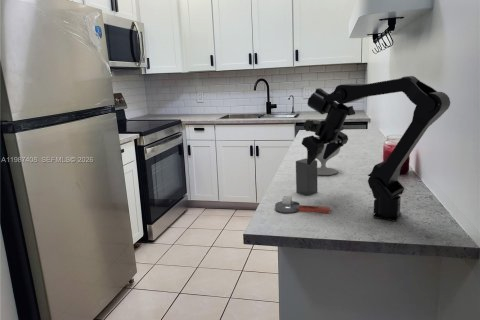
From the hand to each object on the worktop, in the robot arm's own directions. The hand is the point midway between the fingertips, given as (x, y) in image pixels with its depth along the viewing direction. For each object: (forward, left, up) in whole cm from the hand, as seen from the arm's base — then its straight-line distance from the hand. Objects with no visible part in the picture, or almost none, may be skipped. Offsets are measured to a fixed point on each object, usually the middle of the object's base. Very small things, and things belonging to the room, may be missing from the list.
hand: (316, 161), depth 124 cm
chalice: (+12, -33, -14) cm, 37 cm away
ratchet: (0, +12, -13) cm, 18 cm away
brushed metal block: (+6, -5, -13) cm, 16 cm away
